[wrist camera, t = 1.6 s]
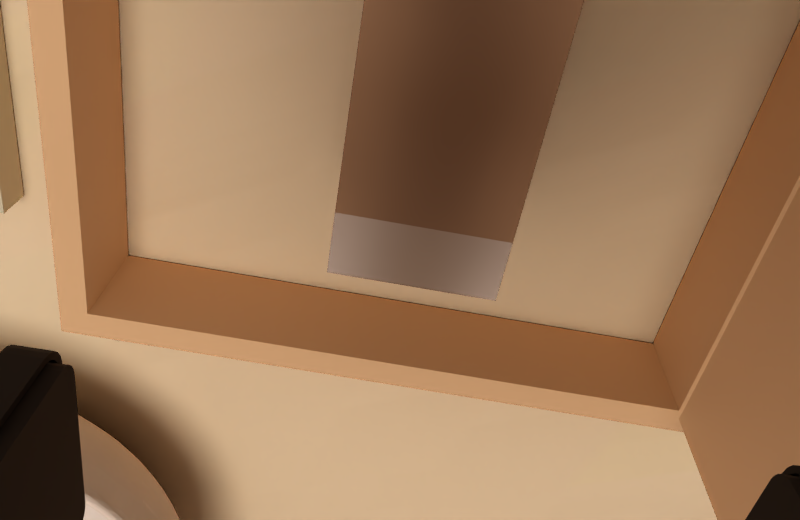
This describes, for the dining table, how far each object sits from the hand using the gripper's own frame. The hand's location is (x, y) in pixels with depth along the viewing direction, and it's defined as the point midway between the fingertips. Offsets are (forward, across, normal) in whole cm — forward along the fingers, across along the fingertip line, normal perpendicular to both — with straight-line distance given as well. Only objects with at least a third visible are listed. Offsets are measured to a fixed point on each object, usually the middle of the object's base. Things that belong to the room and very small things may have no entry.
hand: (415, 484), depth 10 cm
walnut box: (+18, 0, -1) cm, 18 cm away
